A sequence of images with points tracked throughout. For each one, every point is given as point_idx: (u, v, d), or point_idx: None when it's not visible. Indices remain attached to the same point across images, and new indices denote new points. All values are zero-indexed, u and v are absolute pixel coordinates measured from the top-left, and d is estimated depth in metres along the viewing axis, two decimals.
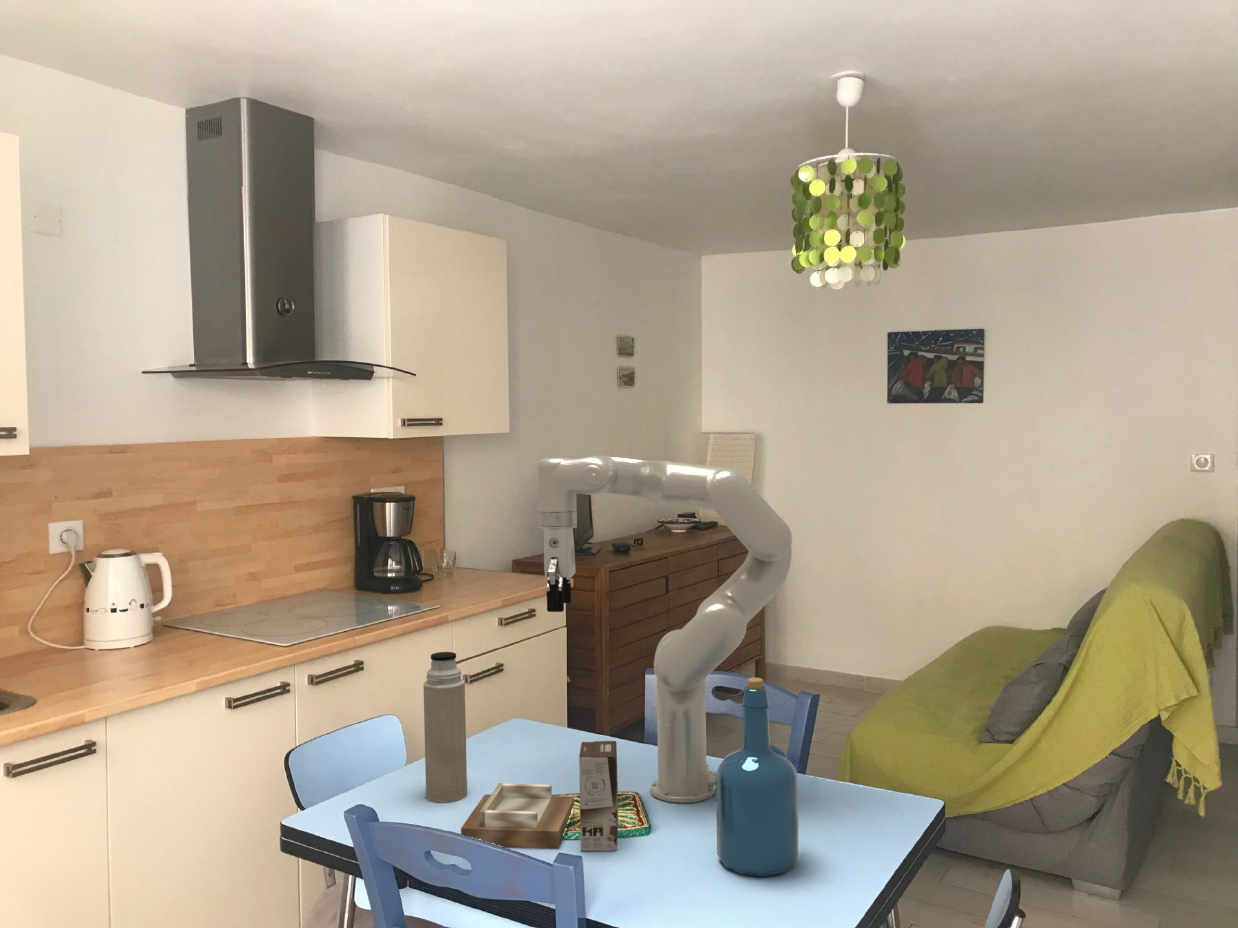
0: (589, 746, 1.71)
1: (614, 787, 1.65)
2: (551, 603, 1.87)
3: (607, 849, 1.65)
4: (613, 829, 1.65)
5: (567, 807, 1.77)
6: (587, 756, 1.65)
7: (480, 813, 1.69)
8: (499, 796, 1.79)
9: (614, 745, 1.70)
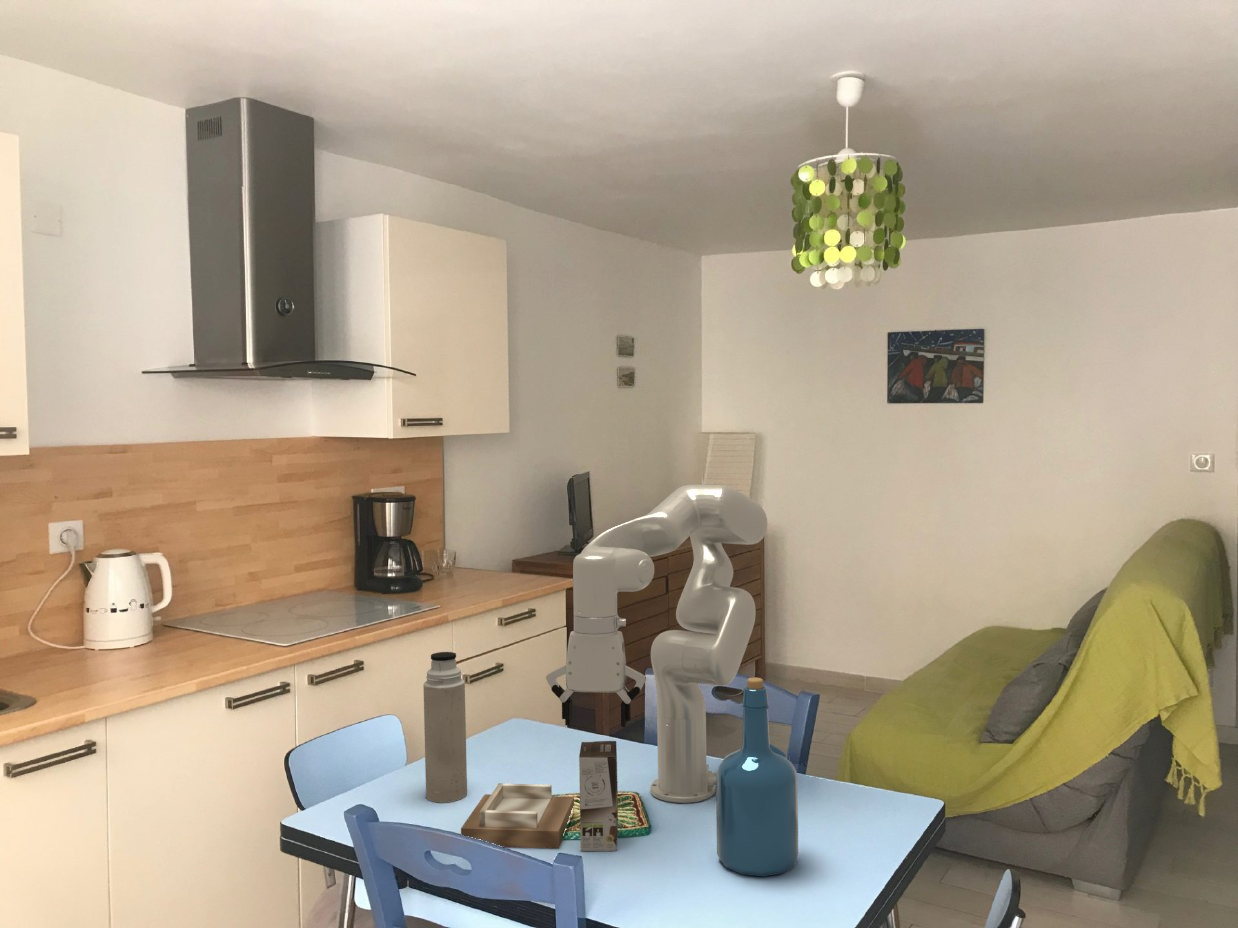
0: (589, 746, 1.71)
1: (614, 787, 1.65)
2: (629, 715, 1.67)
3: (607, 849, 1.65)
4: (613, 829, 1.65)
5: (567, 807, 1.77)
6: (587, 756, 1.65)
7: (480, 813, 1.69)
8: (499, 796, 1.79)
9: (614, 745, 1.70)
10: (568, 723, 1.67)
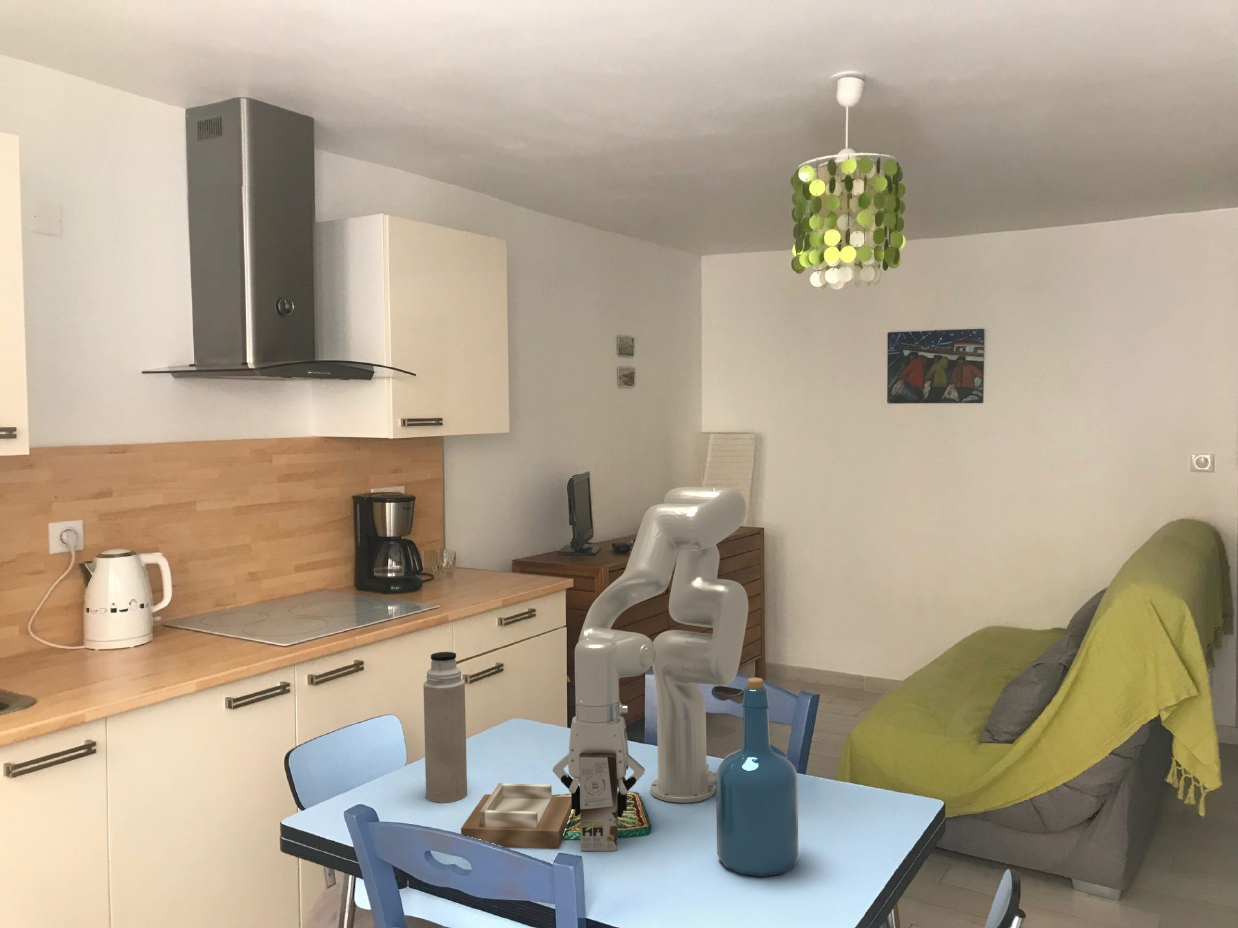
0: None
1: (614, 787, 1.65)
2: (626, 806, 1.68)
3: (607, 849, 1.65)
4: (613, 829, 1.65)
5: (567, 807, 1.77)
6: (587, 756, 1.65)
7: (480, 813, 1.69)
8: (499, 796, 1.79)
9: None
10: (578, 814, 1.68)
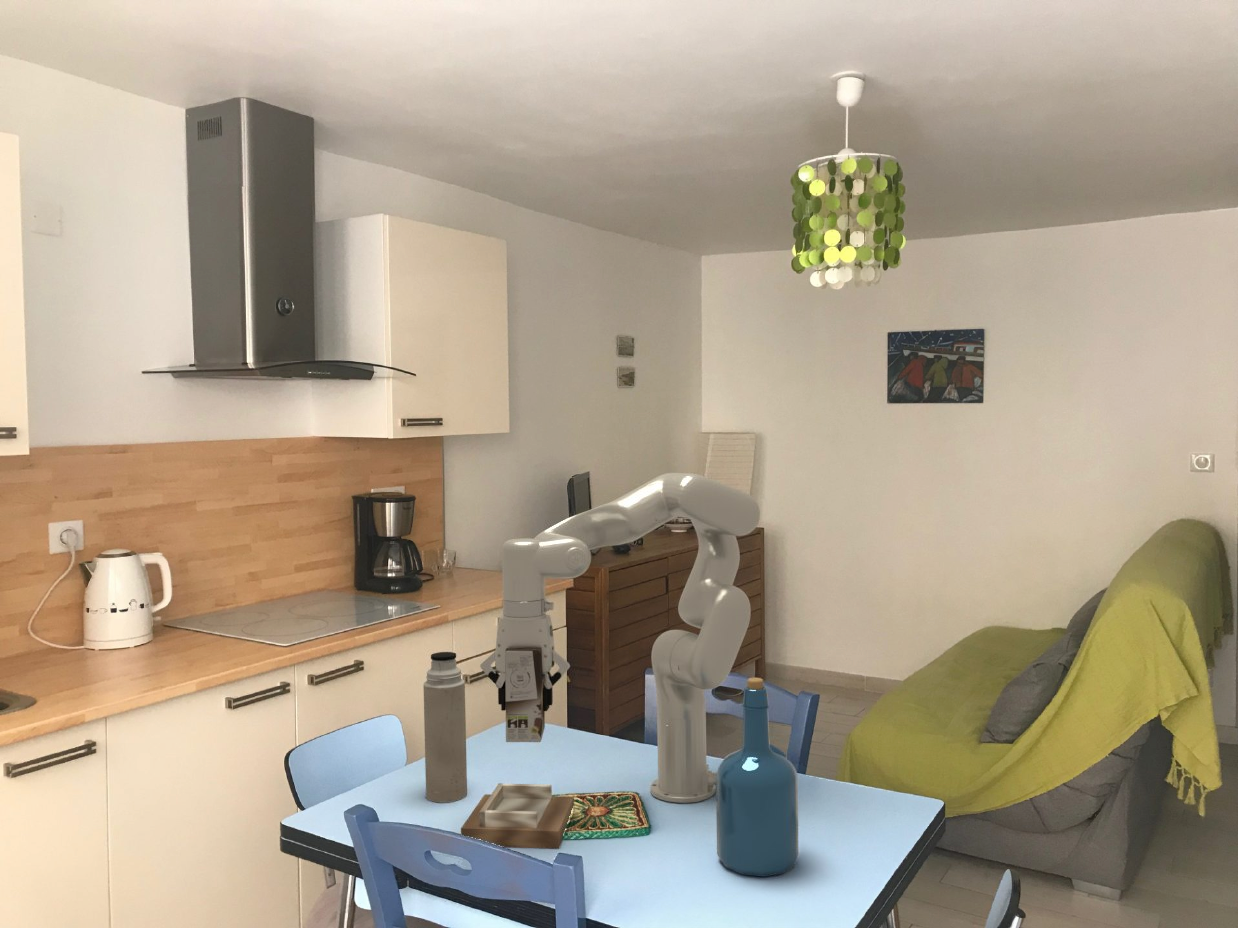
0: None
1: (539, 680, 1.69)
2: (551, 700, 1.73)
3: (532, 740, 1.69)
4: (538, 721, 1.69)
5: (567, 807, 1.77)
6: (512, 650, 1.69)
7: (480, 813, 1.69)
8: (499, 796, 1.79)
9: None
10: (504, 708, 1.72)
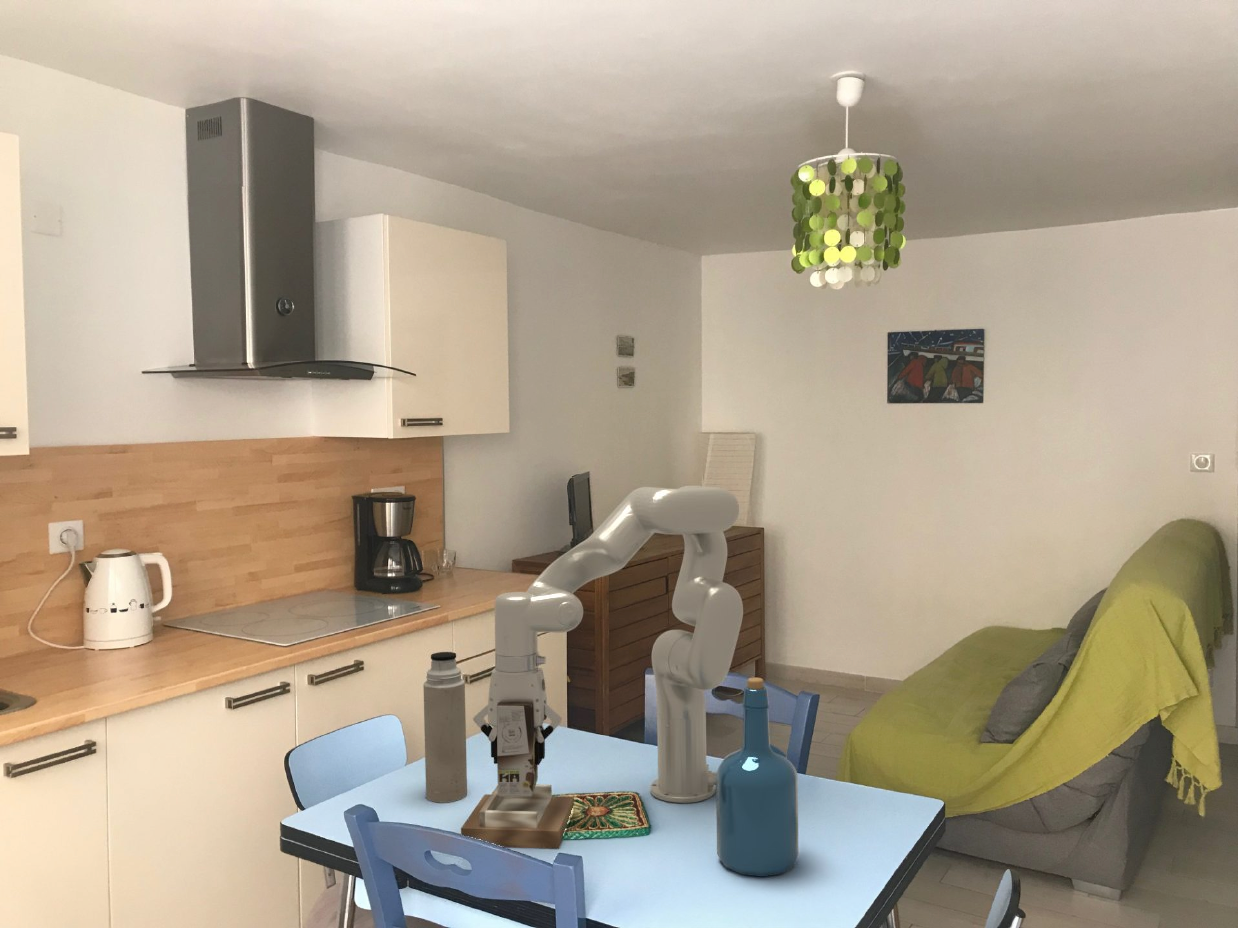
0: None
1: (530, 735, 1.70)
2: (543, 754, 1.73)
3: (523, 795, 1.70)
4: (529, 775, 1.70)
5: (567, 807, 1.77)
6: (504, 705, 1.70)
7: (480, 813, 1.69)
8: (499, 796, 1.79)
9: None
10: (496, 761, 1.74)
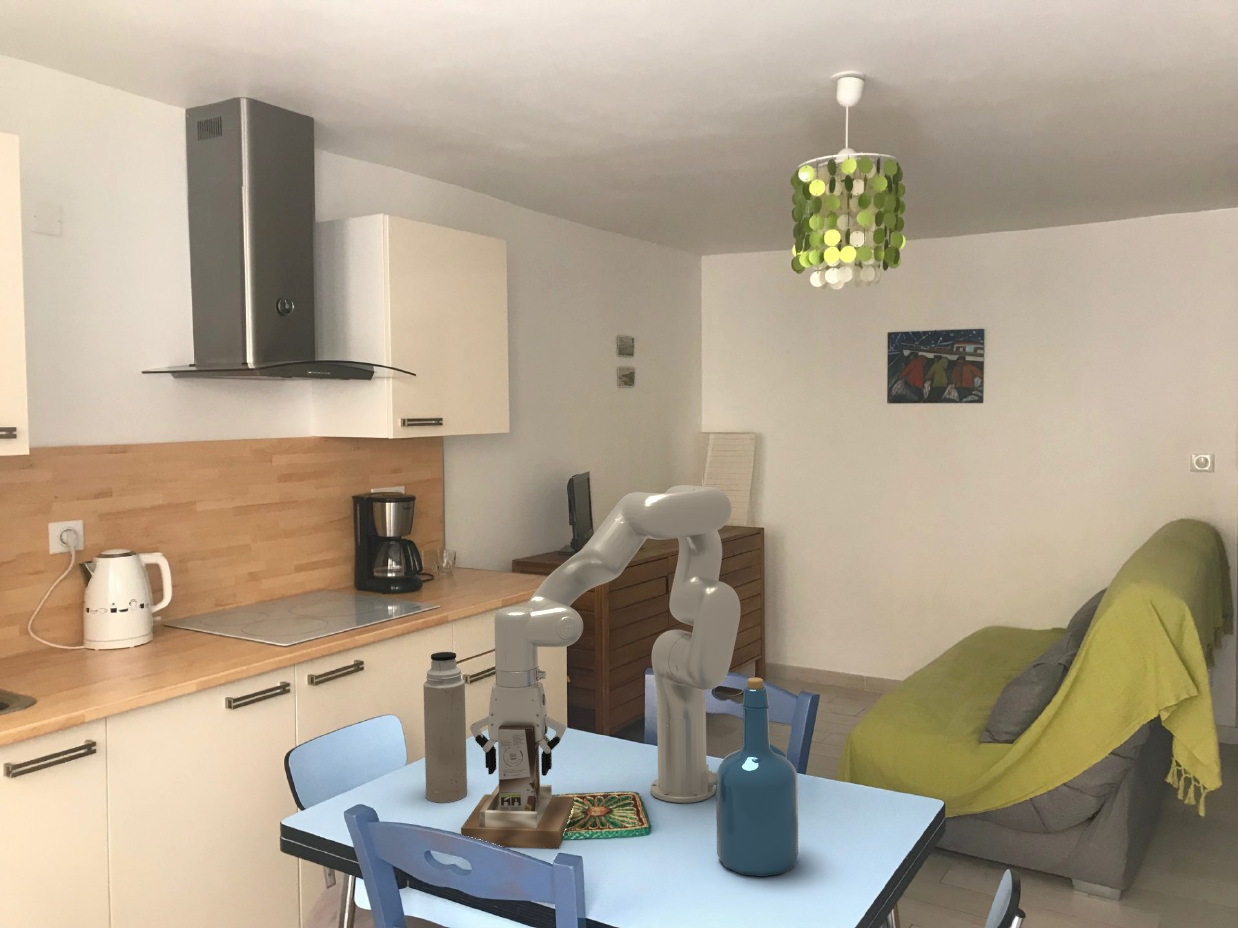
0: None
1: (531, 758, 1.70)
2: (550, 764, 1.73)
3: None
4: (530, 799, 1.70)
5: (567, 807, 1.77)
6: (505, 728, 1.71)
7: (480, 813, 1.69)
8: None
9: None
10: (491, 772, 1.74)
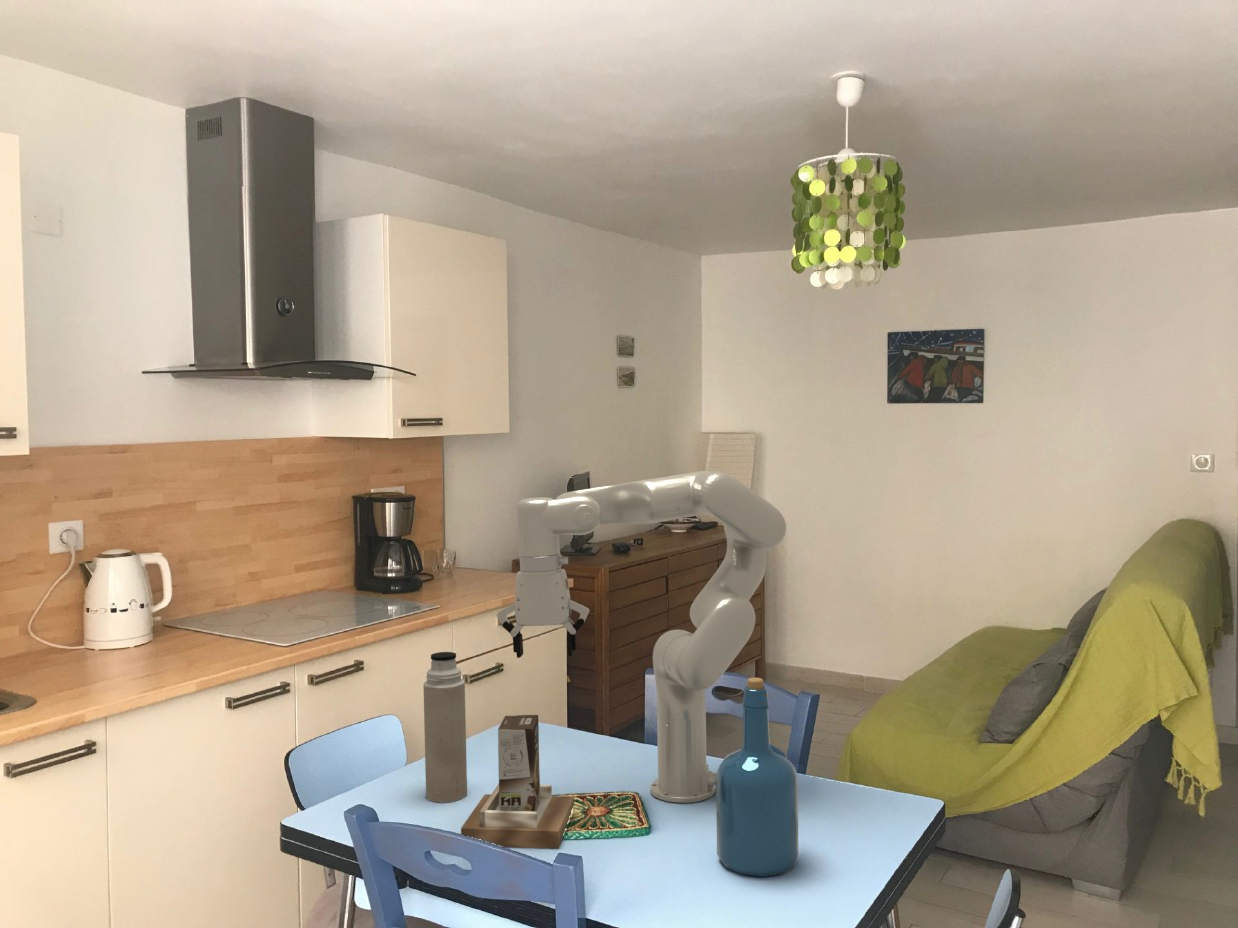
0: (511, 719, 1.76)
1: (531, 758, 1.70)
2: (575, 645, 1.82)
3: None
4: (530, 799, 1.70)
5: (567, 807, 1.77)
6: (505, 728, 1.71)
7: (480, 813, 1.69)
8: None
9: (535, 718, 1.76)
10: (519, 655, 1.82)
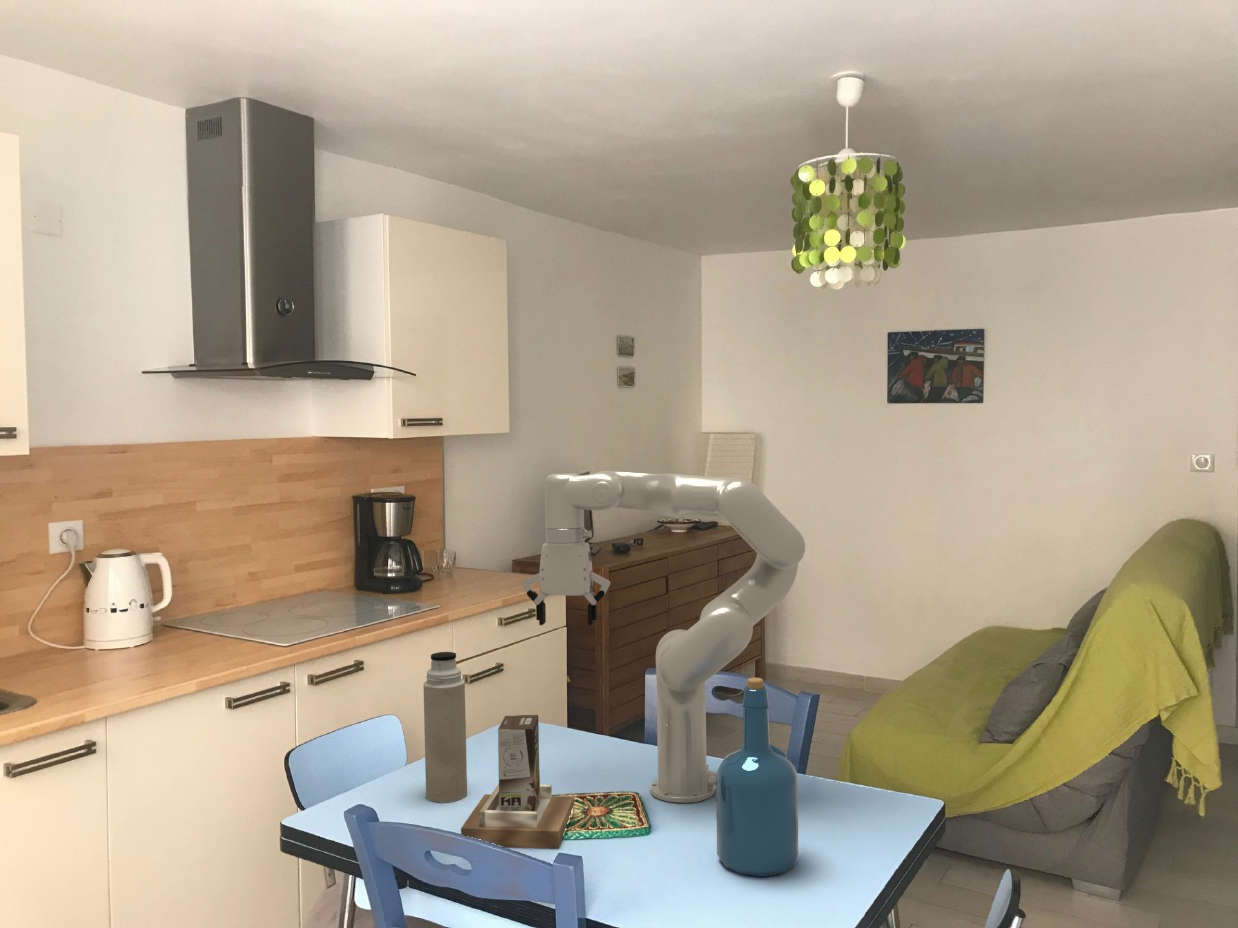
0: (511, 719, 1.76)
1: (531, 758, 1.70)
2: (595, 616, 1.90)
3: None
4: (530, 799, 1.70)
5: (567, 807, 1.77)
6: (505, 728, 1.71)
7: (480, 813, 1.69)
8: None
9: (535, 718, 1.76)
10: (542, 623, 1.90)
